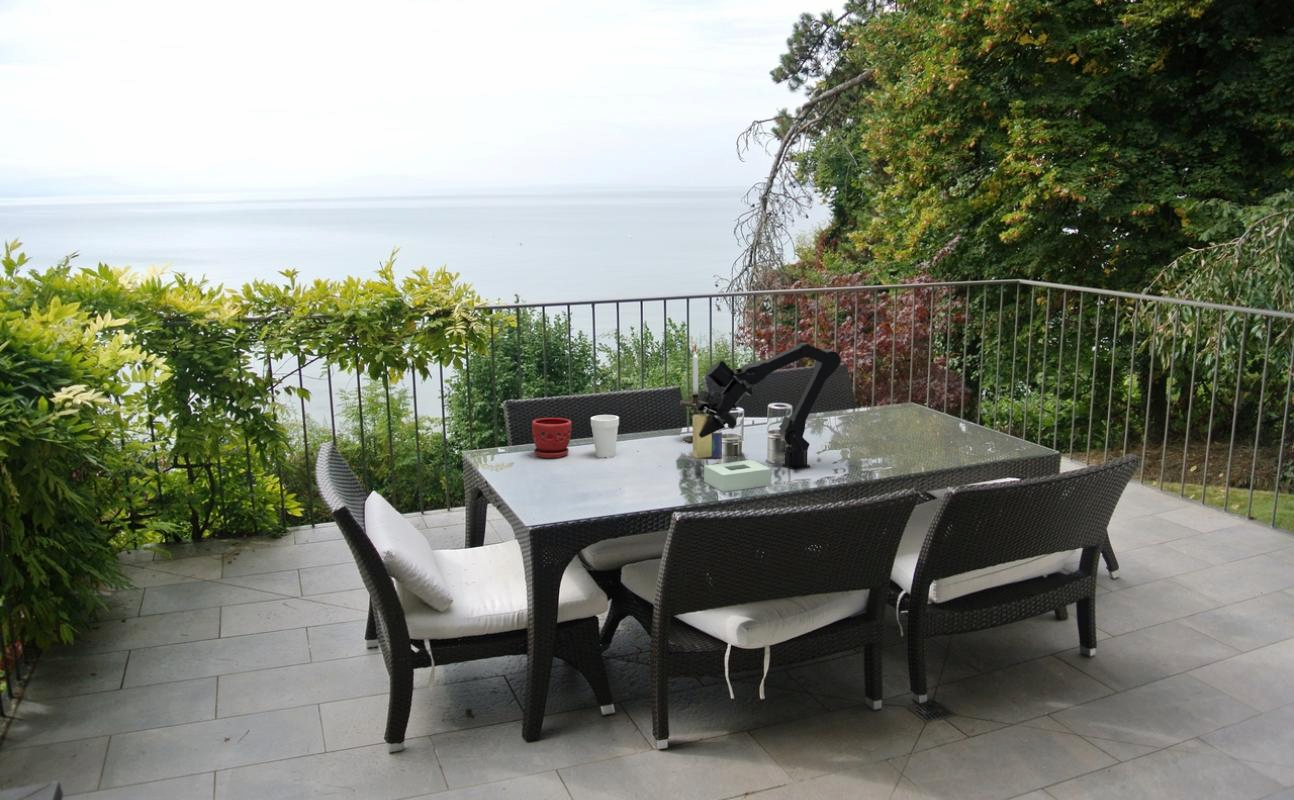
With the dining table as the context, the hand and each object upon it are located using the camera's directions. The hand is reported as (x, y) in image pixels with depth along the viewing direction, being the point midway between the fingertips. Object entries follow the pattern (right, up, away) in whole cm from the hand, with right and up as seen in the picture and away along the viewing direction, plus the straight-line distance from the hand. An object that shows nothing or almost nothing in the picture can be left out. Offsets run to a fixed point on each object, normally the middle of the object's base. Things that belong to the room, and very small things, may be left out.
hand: (698, 435), depth 292 cm
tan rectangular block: (+1, -6, +2) cm, 7 cm away
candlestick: (+2, -4, +46) cm, 47 cm away
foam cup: (-30, -8, +27) cm, 41 cm away
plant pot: (-48, -8, +28) cm, 56 cm away
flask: (+5, -8, +22) cm, 24 cm away
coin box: (+11, -14, -9) cm, 20 cm away
